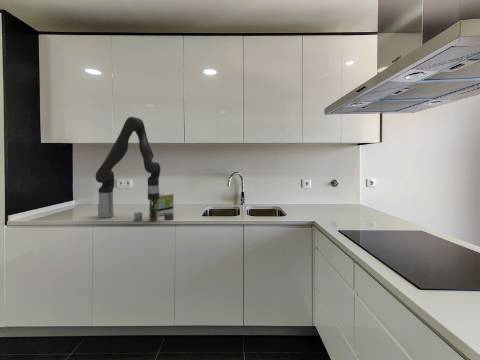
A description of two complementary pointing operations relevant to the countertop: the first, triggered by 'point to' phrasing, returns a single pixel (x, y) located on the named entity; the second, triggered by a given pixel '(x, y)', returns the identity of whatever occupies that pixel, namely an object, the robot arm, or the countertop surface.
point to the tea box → (164, 204)
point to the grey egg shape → (138, 216)
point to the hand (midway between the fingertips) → (154, 216)
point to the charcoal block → (168, 216)
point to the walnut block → (155, 216)
